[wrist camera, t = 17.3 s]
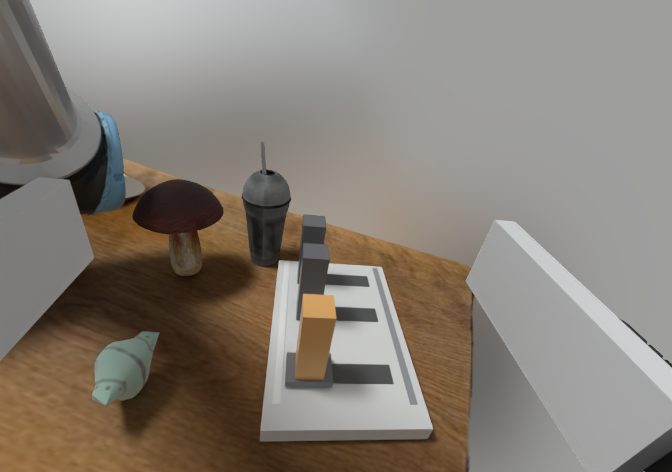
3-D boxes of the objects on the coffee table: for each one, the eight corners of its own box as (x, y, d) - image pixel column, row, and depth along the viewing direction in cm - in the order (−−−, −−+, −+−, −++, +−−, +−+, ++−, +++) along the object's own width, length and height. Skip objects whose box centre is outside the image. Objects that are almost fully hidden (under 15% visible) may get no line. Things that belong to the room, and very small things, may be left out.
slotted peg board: (259, 441, 31) (262, 362, 24) (278, 269, 53) (282, 204, 46) (427, 439, 33) (470, 366, 27) (379, 276, 55) (396, 214, 49)
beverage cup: (295, 257, 56) (306, 144, 45) (265, 277, 50) (269, 154, 40) (264, 240, 59) (267, 130, 48) (232, 257, 53) (229, 137, 43)
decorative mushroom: (239, 277, 50) (238, 188, 42) (167, 310, 42) (148, 210, 34) (203, 244, 55) (195, 160, 47) (133, 268, 48) (110, 173, 40)
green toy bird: (125, 435, 30) (108, 393, 26) (81, 427, 30) (58, 383, 26) (171, 361, 36) (163, 319, 33) (136, 355, 36) (123, 312, 33)
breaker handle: (284, 386, 33) (291, 319, 28) (286, 356, 36) (292, 291, 31) (332, 387, 34) (347, 321, 29) (330, 357, 37) (343, 293, 32)
